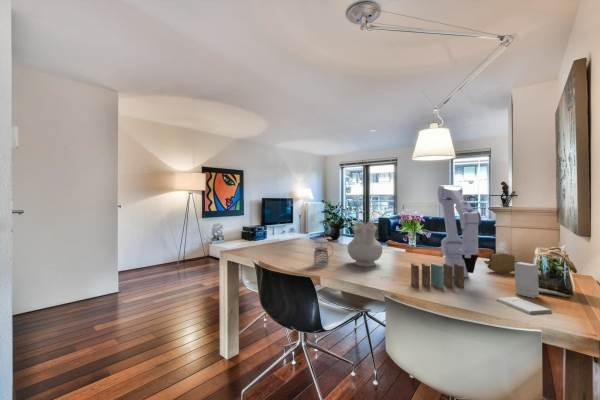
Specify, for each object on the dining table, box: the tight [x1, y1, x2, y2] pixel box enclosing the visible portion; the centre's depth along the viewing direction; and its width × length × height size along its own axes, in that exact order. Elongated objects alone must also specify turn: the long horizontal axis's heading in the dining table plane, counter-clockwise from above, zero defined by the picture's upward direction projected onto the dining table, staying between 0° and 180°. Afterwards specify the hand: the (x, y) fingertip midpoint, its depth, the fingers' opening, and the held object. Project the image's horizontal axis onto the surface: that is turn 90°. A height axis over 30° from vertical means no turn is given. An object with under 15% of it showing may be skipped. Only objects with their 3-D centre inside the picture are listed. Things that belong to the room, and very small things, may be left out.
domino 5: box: [453, 264, 465, 289], centre depth 118 cm, size 2×5×9 cm, turn 176°
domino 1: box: [410, 262, 420, 288], centre depth 119 cm, size 2×5×9 cm, turn 176°
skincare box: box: [514, 261, 540, 299], centre depth 106 cm, size 6×4×12 cm
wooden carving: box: [483, 252, 518, 274], centre depth 140 cm, size 16×5×10 cm, turn 80°
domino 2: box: [421, 262, 431, 289], centre depth 119 cm, size 2×5×9 cm, turn 176°
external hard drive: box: [496, 296, 553, 315], centre depth 96 cm, size 2×8×12 cm
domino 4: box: [442, 263, 454, 289], centre depth 118 cm, size 2×5×9 cm, turn 176°
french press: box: [312, 220, 334, 269], centre depth 156 cm, size 10×12×25 cm
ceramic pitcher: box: [347, 220, 383, 268], centre depth 158 cm, size 22×20×25 cm
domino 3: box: [430, 262, 444, 289], centre depth 119 cm, size 2×5×9 cm, turn 16°
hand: (470, 272), depth 118 cm, fingers closed
